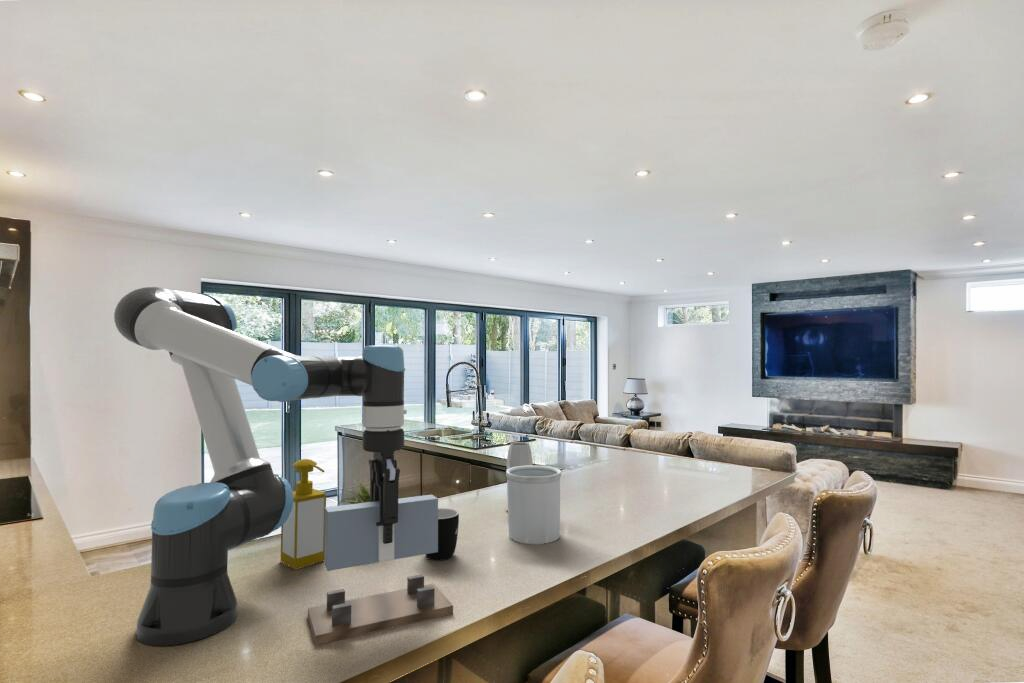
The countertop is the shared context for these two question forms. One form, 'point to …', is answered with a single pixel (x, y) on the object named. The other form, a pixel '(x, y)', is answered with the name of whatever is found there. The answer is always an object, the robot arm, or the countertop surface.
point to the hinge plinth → (376, 611)
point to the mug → (446, 534)
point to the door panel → (357, 533)
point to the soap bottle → (304, 522)
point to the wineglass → (519, 455)
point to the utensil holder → (533, 503)
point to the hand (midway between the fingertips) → (383, 556)
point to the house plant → (360, 495)
